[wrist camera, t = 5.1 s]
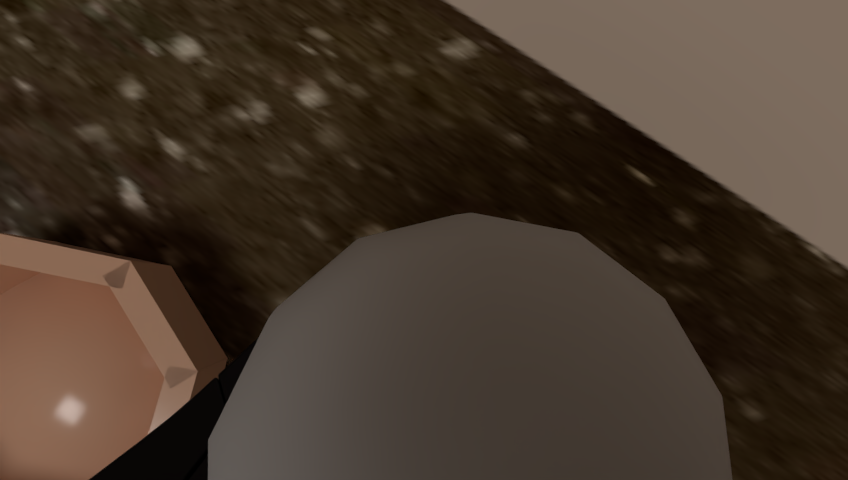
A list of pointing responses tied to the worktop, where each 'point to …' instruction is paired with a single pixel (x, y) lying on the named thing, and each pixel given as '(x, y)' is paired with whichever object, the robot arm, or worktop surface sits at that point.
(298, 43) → the worktop surface
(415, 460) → the salt shaker
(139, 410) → the pink octagonal dish
